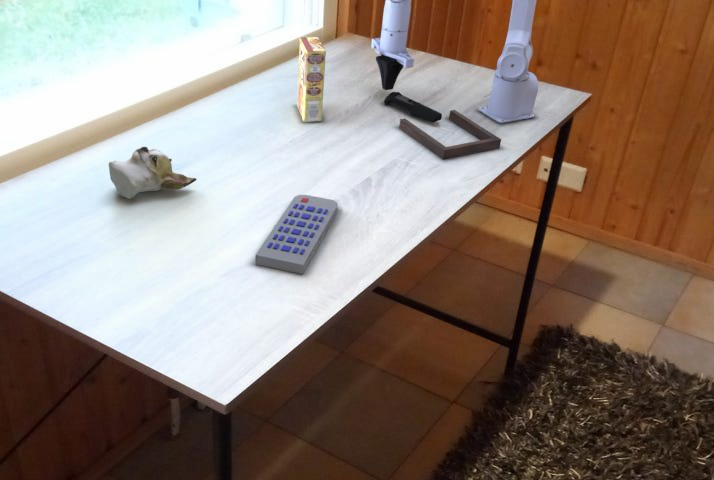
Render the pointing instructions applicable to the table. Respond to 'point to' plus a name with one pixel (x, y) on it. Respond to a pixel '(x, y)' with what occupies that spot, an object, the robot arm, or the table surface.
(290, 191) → the table surface
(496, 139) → the dock
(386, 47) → the robot arm
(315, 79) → the candy box
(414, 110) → the electric trimmer
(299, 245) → the remote control
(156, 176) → the ceramic sculpture
